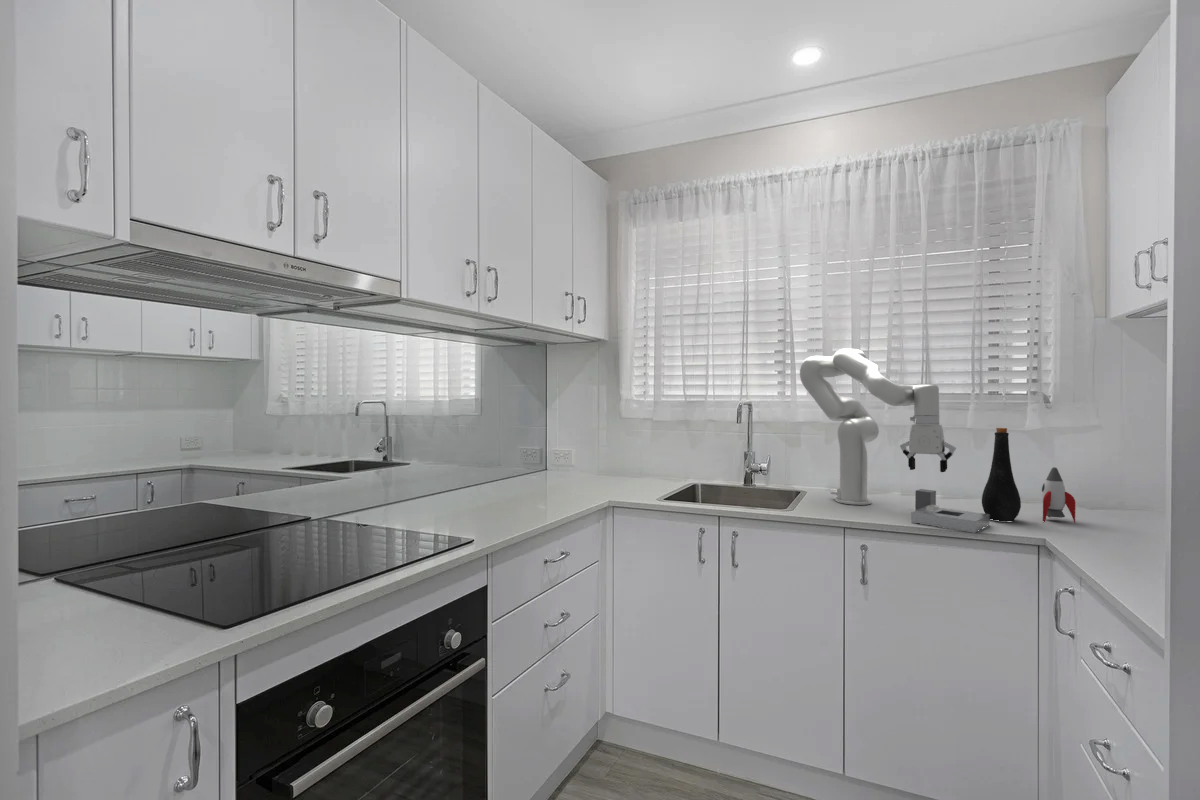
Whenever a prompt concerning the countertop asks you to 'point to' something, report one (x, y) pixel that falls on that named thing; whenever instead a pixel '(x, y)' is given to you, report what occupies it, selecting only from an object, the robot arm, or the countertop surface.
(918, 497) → the plug
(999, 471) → the bottle
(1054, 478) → the toy
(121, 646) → the countertop surface
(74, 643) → the countertop surface
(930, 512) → the socket plate
